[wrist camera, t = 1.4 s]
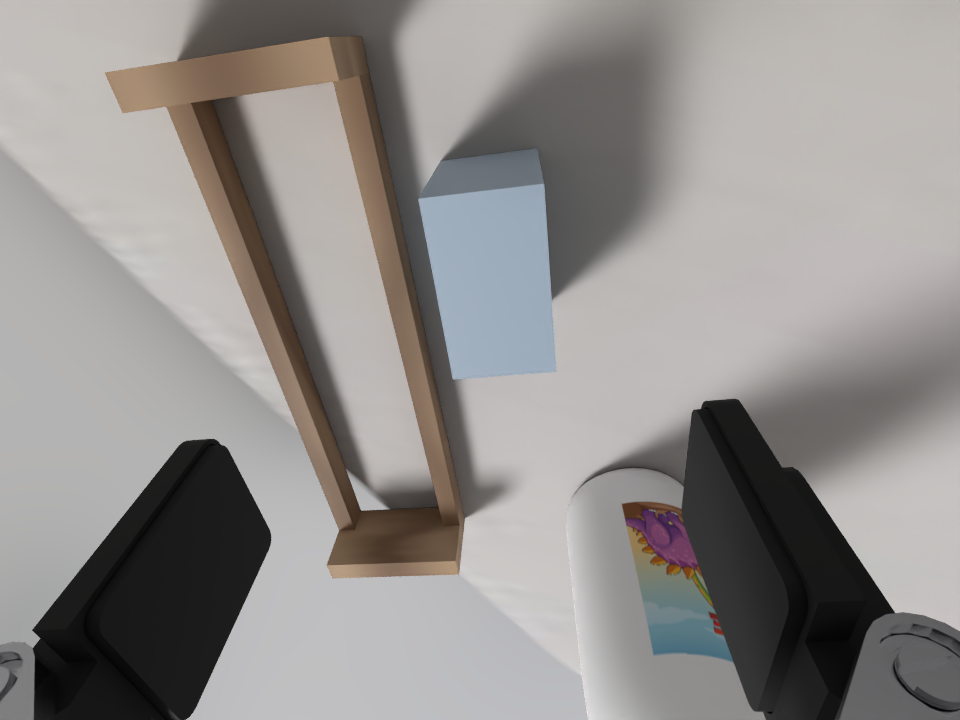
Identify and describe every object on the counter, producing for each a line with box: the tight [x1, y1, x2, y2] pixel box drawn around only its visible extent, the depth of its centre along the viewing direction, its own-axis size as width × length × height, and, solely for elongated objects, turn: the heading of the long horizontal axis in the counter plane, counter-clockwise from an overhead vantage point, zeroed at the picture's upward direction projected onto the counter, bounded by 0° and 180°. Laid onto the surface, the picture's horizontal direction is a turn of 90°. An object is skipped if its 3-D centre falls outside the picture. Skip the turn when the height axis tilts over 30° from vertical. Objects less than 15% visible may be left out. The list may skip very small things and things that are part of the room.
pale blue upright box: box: [418, 148, 556, 380], centre depth 20 cm, size 4×7×6 cm, turn 8°
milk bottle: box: [566, 468, 766, 720], centre depth 23 cm, size 8×8×20 cm
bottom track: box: [105, 37, 465, 578], centre depth 25 cm, size 8×26×4 cm, turn 8°
